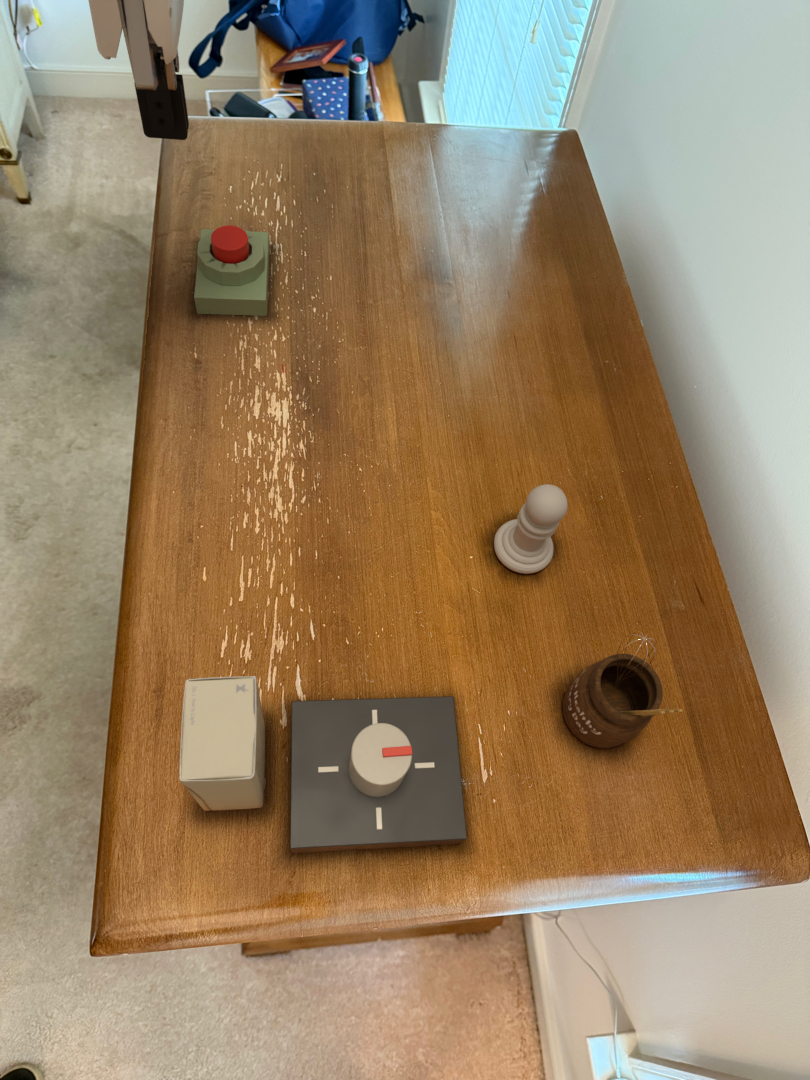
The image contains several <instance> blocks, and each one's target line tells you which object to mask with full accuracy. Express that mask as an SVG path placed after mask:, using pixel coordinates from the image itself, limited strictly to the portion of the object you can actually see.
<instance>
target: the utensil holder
mask: <svg viewBox="0 0 810 1080" xmlns="http://www.w3.org/2000/svg"><path fill="white" fill-rule="evenodd" d="M638 632H639V633H640V634H641V635H640V634H639V635H638V634H636V633H638ZM648 635H649V633H647V634H646V635H645V636H644V634H643V632H642V631H640V630H635V631H634V632H633V633H632V634H628V635H627V636H625V637H624V638H623V640H622V641H621V643H620V644H619V646H618V649H617V653H616V654H612V655H610V656H609V655H608V656H606V657H605V658H603V659H602V660H599V661H596V662H594V663H592V664H590V665H589V666H588V667H587V668H586V669H584V670H583V671H582V672H581V673H580V674H579V675H578V676H576V678H575V679H574V680H573V681H572V683H571V684H570V685H569V687H568V688H567V690H566V692H565V694H564V697H563V702H562V713H563V717H564V721H565V723H566V725H567V728H568V729H569V730H570V732H571V733H572V734H573V736H575V737H576V738H577V739H578V740H579V741H581V742H582V743H584V744H586V745H588V746H590V747H593V748H597V749H610V748H614V747H617V746H620V745H622V744H624V743H625V742H627V741H629V740H631V739H632V738H634V737H635V736H636V735H638V734H639V733H640V732H642V731H643V730H644V729H645V728H646V727H647V726H648V725H649V723H650V722H651V720H652V719H653V717H655V715H663V714H672V713H681V712H684V710H683V709H682V708H661V705H662V702H663V696H664V693H663V691H664V690H663V685H662V682H661V680H660V678H659V676H658V674H657V672H656V671H655V669H654V668H653V667H652V666H651V664H652V662H653V660H654V658H655V656H656V653H654V654H653V657H652V658H651V660H650V661H649V663H648V662H647V659H648V658H649V656H650V655H651V654H652V652H653V651H654V652H656V648H655V646H656V645H657V644H656V643H657V642H656V640H655V639H654V638H651V637H647V636H648ZM634 636H636V637H640V638H639V639H635V640H632V641H631V639H632V637H634ZM628 637H630V638H629V640H628V641H627V644H626V646H625V647H624V648H623V649H622V650H621V652H620V653H619V650H620V648H621V646H622V644H623V643H624V641H625V640H626V639H627V638H628ZM640 640H642V642H640V645H639V647H638V648H637V649H636V650H635V653H634V654H629V653H626V651H627V647H628V646H629V645H631V644H632V643H634V642H636V641H640ZM649 640H653V641H654V644H653V643H650V641H649ZM630 641H631V642H630ZM644 642H645V645H646V656H645V657H644V659H642V658H640V657H639V656H636V654H637V653H638V652H639V649H640V648H641V646H642V644H643V643H644ZM647 642H648V643H650V645H651V646H652V648H651V650H650V652H649V650H648V649H649V648H648V643H647ZM623 652H624V653H623ZM648 652H649V653H648Z"/></svg>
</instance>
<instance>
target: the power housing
mask: <svg viewBox="0 0 810 1080" xmlns="http://www.w3.org/2000/svg"><path fill="white" fill-rule="evenodd" d="M240 228H241V229H243V230H244V231H245V232H246V233H247V235H248V242H249V256H248V257H247V259H246V260H244V261H242V262H240V263H237V264H225V263H222V262H220V261H218V260H217V259H216V258H215V257H214V255H213V250H212V243H211V235H212V233H213V231H214V230H215V229H211V228H210V229H209V228H200V235H199V241H198V242H197V252H196V256H197V264H196V275H195V285H194V293H193V295H194V296H193V301H194V305H195V311H196V314H198V315H222V316H223V315H224V316H251V317H252V316H253V317H254V316H255V317H268V304H269V303H268V302H269V275H270V254H271V253H270V251H271V250H270V249H271V248H270V233H269V231H254V230H253V231H251V230H247V229H245V228H243V227H240Z"/></svg>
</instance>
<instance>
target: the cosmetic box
mask: <svg viewBox="0 0 810 1080" xmlns="http://www.w3.org/2000/svg"><path fill="white" fill-rule="evenodd" d="M184 683H185V684H184V692H183V699H182V700H183V701H182V714H181V729H180V747H179V774H178V778H179V782H180V783H181V784H182V785H183V786H184V787H185V789H186V790H187V791H188V793H189V794H190V795H191V796H192V798H193V799H194V800H195V802H197V804H198V805H199V806H200V807H201V809H202V810H203V811H205V812H206V811H230V810H232V811H234V810H250V809H251V810H253V809H261V808H263V806H264V800H265V799H264V797H265V772H266V770H265V769H266V723H265V717H264V711H263V706H262V702H261V696H260V695H261V694H260V689H259V686H258V684H259V683H258V679H257V676H255V675H251V676H250V675H249V676H245V675H244V676H216V677H215V676H214V677H213V676H211V677H199V678H197V677H196V678H188V679H186V680H185V682H184Z"/></svg>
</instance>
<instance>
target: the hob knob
mask: <svg viewBox="0 0 810 1080" xmlns="http://www.w3.org/2000/svg"><path fill="white" fill-rule="evenodd" d="M411 761H412V746H411V744H410V742H409V740H408V738H407V736H406V735H405V734H404V733H403V732H402V731H401V730H400V729H399V728H397V727H395V726H393V725H391V724H386V723H376V724H372V725H370V726H367V727H366V728H364V729H363V730H362V731H361V732H360V733H359V734H358V735H357V736H356V738H355V740H354V742H353V745H352V749H351V754H350V759H349V775H350V778H351V781H352V783H353V784H354V786H355V787H356V788H357V789H358V790H359V791H360V792H362V793H364V794H366V795H368V796H372V797H382V796H386V795H388V794H390V793H392V792H393V791H395V790H396V789H397V788H398V787H399V785H400V784H401V782H402V780H403V778H404V777H405V775H406V773H407V771H408V769H409V767H410V764H411Z"/></svg>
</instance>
